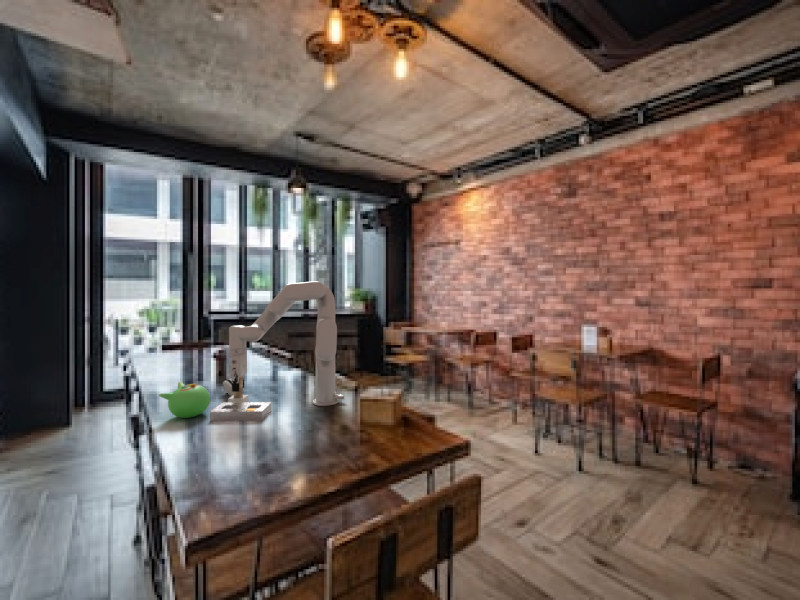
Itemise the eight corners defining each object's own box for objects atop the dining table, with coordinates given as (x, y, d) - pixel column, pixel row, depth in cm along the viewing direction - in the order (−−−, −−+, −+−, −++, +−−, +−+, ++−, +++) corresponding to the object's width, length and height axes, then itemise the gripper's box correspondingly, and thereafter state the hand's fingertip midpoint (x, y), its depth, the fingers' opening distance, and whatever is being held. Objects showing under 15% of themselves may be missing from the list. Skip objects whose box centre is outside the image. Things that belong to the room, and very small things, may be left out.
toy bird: (198, 423, 174) (197, 388, 174) (157, 423, 174) (157, 388, 174) (216, 410, 192) (216, 378, 192) (180, 410, 192) (179, 378, 192)
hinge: (246, 398, 213) (239, 380, 211) (237, 402, 210) (230, 385, 208) (236, 391, 226) (229, 375, 224) (227, 395, 224) (220, 379, 221)
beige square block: (248, 405, 200) (248, 394, 200) (243, 409, 194) (243, 398, 193) (233, 405, 200) (233, 394, 200) (228, 409, 193) (228, 398, 193)
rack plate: (271, 410, 191) (271, 401, 191) (262, 420, 177) (262, 411, 177) (222, 411, 191) (222, 402, 191) (209, 421, 177) (209, 411, 177)
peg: (244, 395, 199) (243, 374, 198) (241, 397, 195) (240, 376, 194) (235, 395, 199) (235, 374, 198) (232, 398, 195) (232, 376, 194)
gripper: (239, 354, 188) (239, 394, 188) (251, 349, 205) (252, 385, 205) (222, 354, 187) (223, 394, 188) (236, 349, 204) (236, 385, 205)
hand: (238, 389), depth 197 cm, fingers open, 5 cm apart
